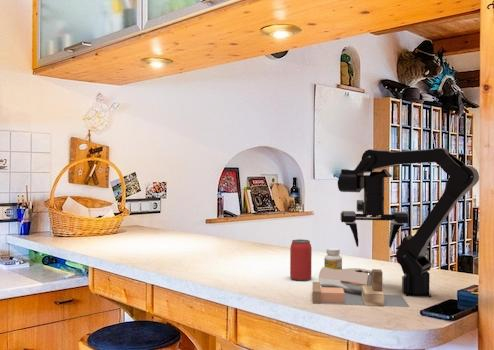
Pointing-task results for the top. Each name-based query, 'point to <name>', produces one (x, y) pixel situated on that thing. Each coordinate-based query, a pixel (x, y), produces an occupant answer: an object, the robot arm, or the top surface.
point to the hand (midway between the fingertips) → (373, 247)
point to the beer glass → (345, 279)
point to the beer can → (300, 260)
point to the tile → (332, 295)
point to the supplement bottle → (333, 259)
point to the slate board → (358, 298)
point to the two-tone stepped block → (374, 290)
